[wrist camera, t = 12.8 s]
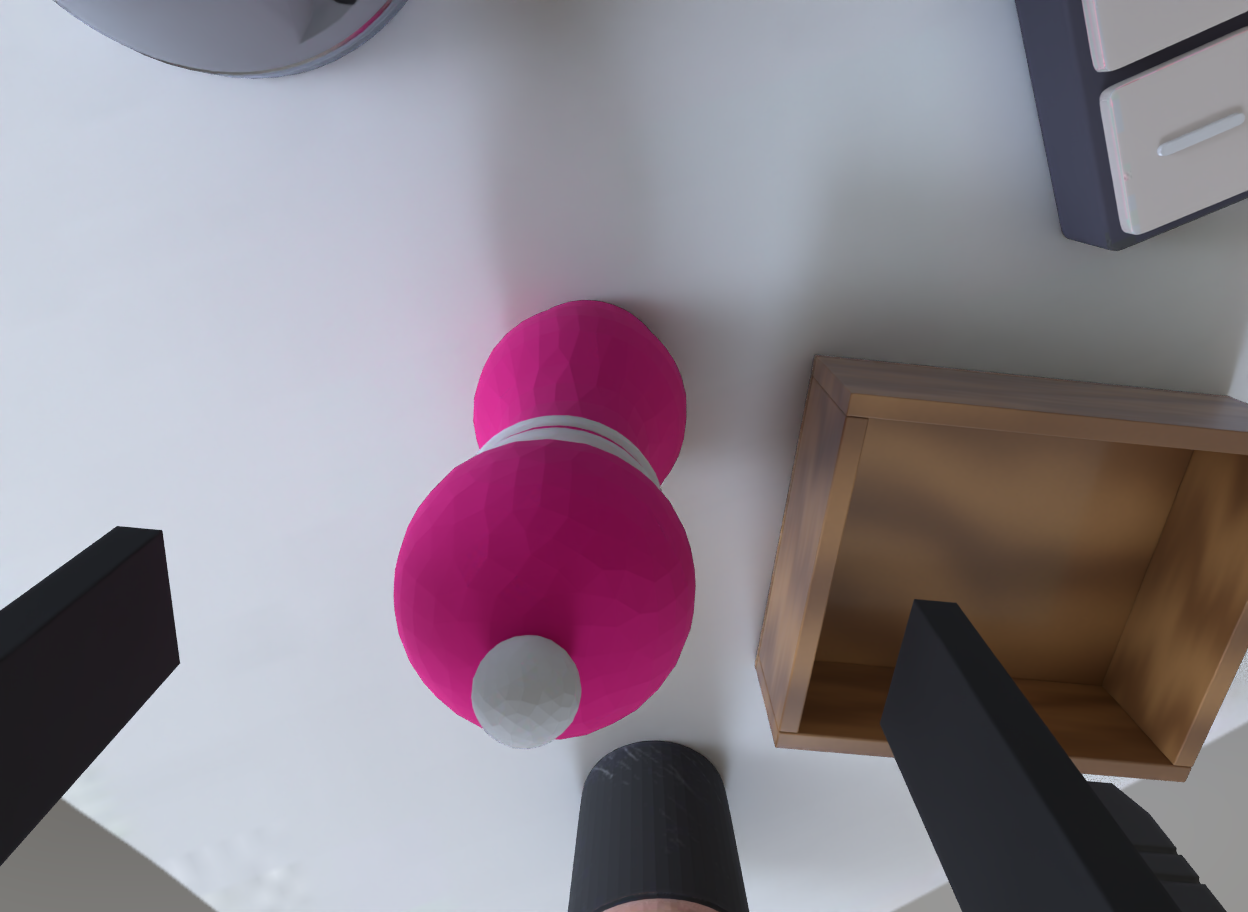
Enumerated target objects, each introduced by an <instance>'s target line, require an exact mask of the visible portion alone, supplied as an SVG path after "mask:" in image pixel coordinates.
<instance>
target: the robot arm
mask: <svg viewBox="0 0 1248 912" xmlns="http://www.w3.org/2000/svg"><path fill="white" fill-rule="evenodd" d="M53 1H54V2H56V3H57V4H58V5H59V6H61V7H62V8H63V9H65V10H66V11H67V12H69V13H70V14H72V15H73V16H74V17H76V18H77V19H79V20H80V21H82V22H83V23H85V24H86V25H88V26H89V27H91V28H93V29H94V30H96V31H98V32H100V33H102V34H103V35H105V36H107V37H109V38H110V39H112V40H114V41H116V42H119V43H120V44H122V45H124V46H127V47H129V48H131V49H133V50H135V51H137V52H139V53H141V54H143V55H146V56H148V57H151V58H154V59H156V60H159V61H162V62H164V63H167V64H171V65H174V66H178V67H182V68H186V69H189V70H194V71H199V72H204V73H208V74H214V75H220V76H226V77H233V78H251V79H258V78H276V77H282V76H288V75H294V74H299V73H302V72H306V71H309V70H313V69H316V68H319V67H321V66H324V65H326V64H328V63H331V62H333V61H336V60H338V59H339V58H341V57H343V56H345V55H347V54H348V53H350V52H352V51H354V50H355V49H357V48H358V47H360V46H361V45H362V44H364V43H365V42H366V41H368V40H369V39H371V38H372V37H373V36H374V35H376V34H377V33H378V32H379V31H380V30H381V29H382V28H383V27H384V26H385V25H386V24H388V23H389V22H390V21H391V19H392V18H393V17H394V16H395V15H396V14H397V13H398V11H399V10H400V9H401V8H402V7H403V6H404V5H405V3H406V2H407V0H53ZM179 664H180V660H179V652H178V645H177V637H176V630H175V622H174V615H173V607H172V600H171V592H170V585H169V577H168V570H167V562H166V555H165V547H164V540H163V532H162V530H153V529H142V528H131V527H120V526H117V527H115V528H114V529H112V530H111V531H110V532H108V533H107V534H106V535H104V536H103V537H101V538H100V539H99V540H97V541H96V542H95V543H93V544H92V545H90V546H89V547H88V548H86V549H85V550H83V551H82V552H81V553H79V554H78V555H77V556H75V557H74V558H72V559H71V560H70V561H68V562H67V563H65V564H64V565H63V566H61V567H60V568H59V569H57V570H56V571H54V572H53V573H52V574H50V575H49V576H48V577H46V578H45V579H43V580H42V581H41V582H39V583H38V584H36V585H35V586H34V587H32V588H31V589H30V590H28V591H27V592H25V593H24V594H23V595H21V596H20V597H18V598H17V599H16V600H14V601H13V602H12V603H10V604H9V605H7V606H6V607H5V608H3V609H2V610H1V611H0V866H1V865H2V864H3V863H4V861H5V860H6V859H7V858H8V857H9V856H10V855H11V853H12V852H13V851H14V850H15V849H16V848H17V847H18V846H19V845H20V843H21V842H22V841H23V840H24V839H25V838H26V837H27V835H28V834H29V833H30V832H31V831H32V830H33V829H34V828H35V826H36V825H37V824H38V823H39V822H40V821H41V820H42V819H43V817H44V816H45V815H46V814H47V813H48V812H49V811H50V809H51V808H52V807H53V806H54V805H55V804H56V803H57V802H58V800H59V799H60V798H61V797H62V796H63V795H64V794H65V793H66V791H67V790H68V789H69V788H70V787H71V786H72V785H73V784H74V782H75V781H76V780H77V779H78V778H79V777H80V776H81V774H82V773H83V772H84V771H85V770H86V769H87V768H88V767H89V765H90V764H91V763H92V762H93V761H94V760H95V759H96V758H97V756H98V755H99V754H100V753H101V752H102V751H103V750H104V749H105V747H106V746H107V745H108V744H109V743H110V742H111V741H112V739H113V738H114V737H115V736H116V735H117V734H118V733H119V732H120V730H121V729H122V728H123V727H124V726H125V725H126V724H127V723H128V721H129V720H130V719H131V718H132V717H133V716H134V715H135V714H136V712H137V711H138V710H139V709H140V708H141V707H142V706H143V704H144V703H145V702H146V701H147V700H148V699H149V698H150V697H151V695H152V694H153V693H154V692H155V691H156V690H157V689H158V688H159V686H160V685H161V684H162V683H163V682H164V681H165V680H166V678H167V677H168V676H169V675H170V674H171V673H172V672H173V671H174V669H175V668H176V667H177V666H178V665H179ZM880 726H881V728H882V730H883V732H884V735H885V737H886V739H887V741H888V744H889V746H890V748H891V751H892V753H893V755H894V757H895V760H896V762H897V764H898V767H899V769H900V771H901V773H902V776H903V778H904V780H905V782H906V785H907V787H908V789H909V792H910V794H911V796H912V798H913V801H914V803H915V805H916V807H917V810H918V812H919V814H920V817H921V819H922V821H923V823H924V826H925V828H926V830H927V833H928V835H929V837H930V839H931V842H932V844H933V846H934V848H935V851H936V853H937V855H938V858H939V860H940V862H941V864H942V867H943V869H944V871H945V874H946V876H947V878H948V880H949V883H950V885H951V887H952V889H953V892H954V894H955V896H956V899H957V901H958V903H959V905H960V908H961V910H962V912H1226V910H1225V909H1224V908H1223V907H1222V905H1221V904H1220V903H1219V902H1218V900H1217V899H1216V898H1215V896H1214V895H1213V894H1212V893H1211V891H1210V890H1209V889H1208V888H1207V886H1206V885H1205V884H1200V882H1199V876H1198V875H1197V874H1196V872H1195V871H1194V870H1193V869H1192V867H1191V866H1190V865H1189V864H1188V863H1187V861H1186V860H1185V858H1184V857H1183V856H1182V855H1178V854H1177V852H1176V847H1175V846H1174V844H1173V843H1172V842H1171V841H1170V839H1169V838H1168V837H1167V836H1166V834H1165V833H1164V832H1163V831H1162V829H1161V828H1160V827H1159V825H1158V824H1157V823H1156V822H1155V820H1154V819H1153V818H1152V817H1151V815H1150V814H1149V813H1148V812H1146V811H1145V810H1144V809H1143V808H1142V807H1140V806H1139V805H1138V804H1137V803H1135V802H1134V801H1133V800H1132V799H1130V798H1129V797H1128V796H1127V795H1126V794H1124V793H1123V792H1122V791H1121V790H1119V789H1118V788H1117V787H1116V786H1115V785H1113V784H1112V783H1102V782H1090V781H1086V780H1085V778H1084V777H1083V775H1082V774H1081V773H1080V771H1079V770H1078V769H1077V767H1076V766H1075V764H1074V763H1073V762H1072V760H1071V759H1070V758H1069V756H1068V755H1067V753H1066V752H1065V751H1064V749H1063V748H1062V747H1061V745H1060V744H1059V743H1058V741H1057V740H1056V738H1055V737H1054V736H1053V734H1052V733H1051V732H1050V730H1049V729H1048V727H1047V726H1046V725H1045V723H1044V722H1043V721H1042V719H1041V718H1040V716H1039V715H1038V714H1037V712H1036V711H1035V710H1034V708H1033V707H1032V706H1031V704H1030V703H1029V701H1028V700H1027V699H1026V697H1025V696H1024V695H1023V693H1022V692H1021V690H1020V689H1019V688H1018V686H1017V685H1016V684H1015V682H1014V681H1013V679H1012V678H1011V677H1010V675H1009V674H1008V673H1007V671H1006V670H1005V669H1004V667H1003V666H1002V664H1001V663H1000V662H999V660H998V659H997V658H996V656H995V655H994V653H993V652H992V651H991V649H990V648H989V647H988V645H987V644H986V642H985V641H984V640H983V638H982V637H981V636H980V634H979V633H978V632H977V630H976V629H975V627H974V626H973V625H972V623H971V622H970V621H969V619H968V618H967V616H966V615H965V614H964V612H963V611H962V610H961V608H960V607H959V605H958V604H957V603H953V602H942V601H931V600H920V599H914V601H913V604H912V608H911V612H910V615H909V619H908V623H907V626H906V630H905V633H904V637H903V641H902V644H901V648H900V652H899V655H898V659H897V663H896V666H895V670H894V673H893V677H892V681H891V684H890V688H889V692H888V695H887V699H886V702H885V706H884V710H883V713H882V717H881V721H880Z"/></svg>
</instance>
